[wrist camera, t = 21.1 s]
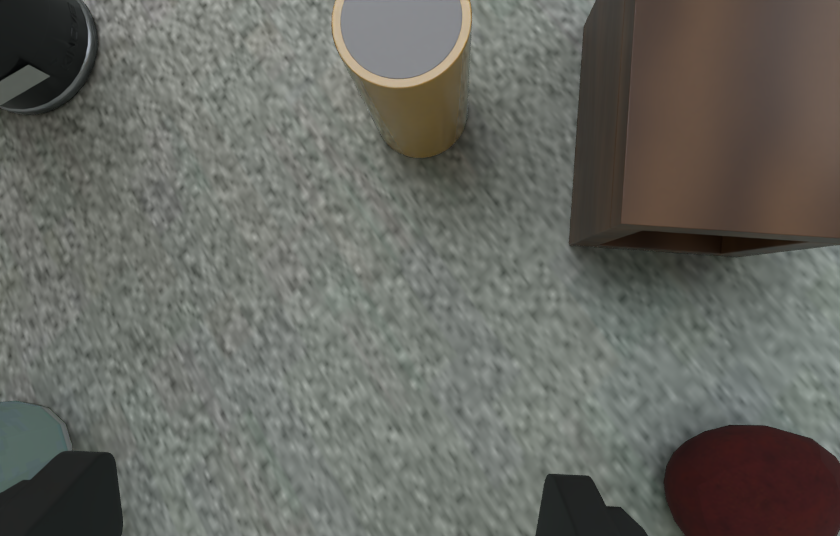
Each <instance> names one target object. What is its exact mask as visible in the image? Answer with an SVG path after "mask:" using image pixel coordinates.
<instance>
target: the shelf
mask: <svg viewBox="0 0 840 536" xmlns="http://www.w3.org/2000/svg"><path fill="white" fill-rule="evenodd" d="M569 245H572V246H586V247H599V248H613V249H627V250H642V251H656V252H670V253H684V254H698V255H713V256H726V257H742V256H751V255H759V254H767V253H776V252H784V251H792V250H801V249H809V248H818V247H826V246H834V245H840V0H596V1H595V3H594V6H593V8H592V10H591V12H590V14H589V16H588V18H587V20H586V23H585V25H584V32H583V46H582V61H581V75H580V90H579V105H578V119H577V134H576V148H575V163H574V178H573V192H572V207H571V221H570V236H569Z"/></svg>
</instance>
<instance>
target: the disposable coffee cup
mask: <svg viewBox="0 0 840 536" xmlns="http://www.w3.org/2000/svg"><path fill="white" fill-rule="evenodd" d="M63 451H72V444H71V440H70V437H69V434H68V430H67V427H66V424H65V423H64V422H63V421H62V420H61V419H60V418H59V417H58V416H57V415H56V414H55V413H54V412H52V411H51V410H50V409H49V408H47V407H42V406H39V405H34V404H29V403H24V402H19V401H8V402H0V493H1V492H3V491H5V490H6V489H8V488H10V487H12V486H13V485H15V484H17V483H18V482H20V481H22V480H31V479H32V478H33V477H34V476H35V475H36V474H37V473H38V472H39V471H40V470H41V469H42V468H43V467H44V466H45V465H46V464H48V463H49V462H50V461H51V460H52V459H53V458H54V457H55V456H56V455H57V454H59V453H61V452H63Z"/></svg>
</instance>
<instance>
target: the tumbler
mask: <svg viewBox="0 0 840 536" xmlns="http://www.w3.org/2000/svg"><path fill="white" fill-rule="evenodd" d="M331 26H332V35H333V39H334V43H335V46H336V48H337V51H338V53H339V55H340V57H341V59H342V61H343V63H344V65H345V67H346V69H347V71H348V73H349V74H350V76H351V78H352V80H353V82H354V84H355V86H356V88H357V90H358V92H359V94H360V96H361V98H362V100H363V102H364V104H365V106H366V108H367V110H368V112H369V114H370V115H371V117H372V119H373V121H374V123H375V125H376V127H377V129H378V131H379V133H380V135H381V137H382V138H383V140H384V141H385V142H386V143H387V144H388V145H389V146H390V147H391V148H392V149H394V150H395V151H397V152H398V153H400V154H403V155H405V156H409V157H414V158H426V157H431V156H435V155H438V154H440V153H442V152H444V151H446V150H447V149H448V148H450V147H451V146H452V145H453V144H454V143H455V142H456V141H457V140H458V139H459V137H460V136H461V134H462V132H463V130H464V128H465V125H466V122H467V116H468V97H469V74H470V51H471V28H472V10H471V3H470V0H335V3H334V7H333V12H332V25H331Z"/></svg>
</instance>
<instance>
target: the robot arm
mask: <svg viewBox="0 0 840 536" xmlns="http://www.w3.org/2000/svg"><path fill="white" fill-rule="evenodd" d="M96 52H97V33H96V28H95V24H94V21H93V18H92V16H91V13H90V11H89V10H88V8H87V6H86V5H85V4H84V2H83V1H82V0H0V108H2V109H4V110H7V111H10V112H13V113H17V114H27V115H32V114H40V113H44V112H48V111H51V110H53V109H55V108H57V107H59V106H61V105H63V104H64V103H66V102H67V101H68V100H70V99H71V98H72V97H73V96H74V95H75V94H76V93H77V92H78V91H79V90H80V89H81V88H82V86H83V85H84V83H85V82H86V80H87V78H88V77H89V75H90V73H91V70H92V68H93V65H94V62H95V58H96ZM122 528H123V516H122V508H121V501H120V493H119V485H118V477H117V469H116V462H115V459H114V457H113V455H112V454H111V453H108V452H87V451H63V452H61V453H59V454H57V455H56V456H55V457H54V458H53V459H52V460H51V461H50V462H49V463H48V464H46V465H45V466H44V467H43V468H42V469H41V470H40V471H39V472H38V473H37V474H36V475H35V476H34V477H33V478H32V479H31V480H22V481H20V482H18V483H17V484H15V485H13V486H12V487H10V488H8V489H6V490H5V491H3V492H1V493H0V536H121V534H122ZM536 536H648V535H647V533H646V532H645V530H644V529H643V528H642V527H641V526H640V525H639V524H638V523H637V522H636V521H635V520H633V519H632V518H631V517H630V516H629V515H628V514H627V513H626V512H625V511H624V510H623V509H622V508H621V507H610V506H606V505H605V503H604V501H603V499H602V497H601V495H600V493H599V491H598V489H597V487H596V485H595V483H594V482H593V480H592V479H591V477H589V476H585V475H563V474H548V475H547V477H546V479H545V483H544V488H543V494H542V500H541V506H540V512H539V518H538V524H537V530H536Z"/></svg>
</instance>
